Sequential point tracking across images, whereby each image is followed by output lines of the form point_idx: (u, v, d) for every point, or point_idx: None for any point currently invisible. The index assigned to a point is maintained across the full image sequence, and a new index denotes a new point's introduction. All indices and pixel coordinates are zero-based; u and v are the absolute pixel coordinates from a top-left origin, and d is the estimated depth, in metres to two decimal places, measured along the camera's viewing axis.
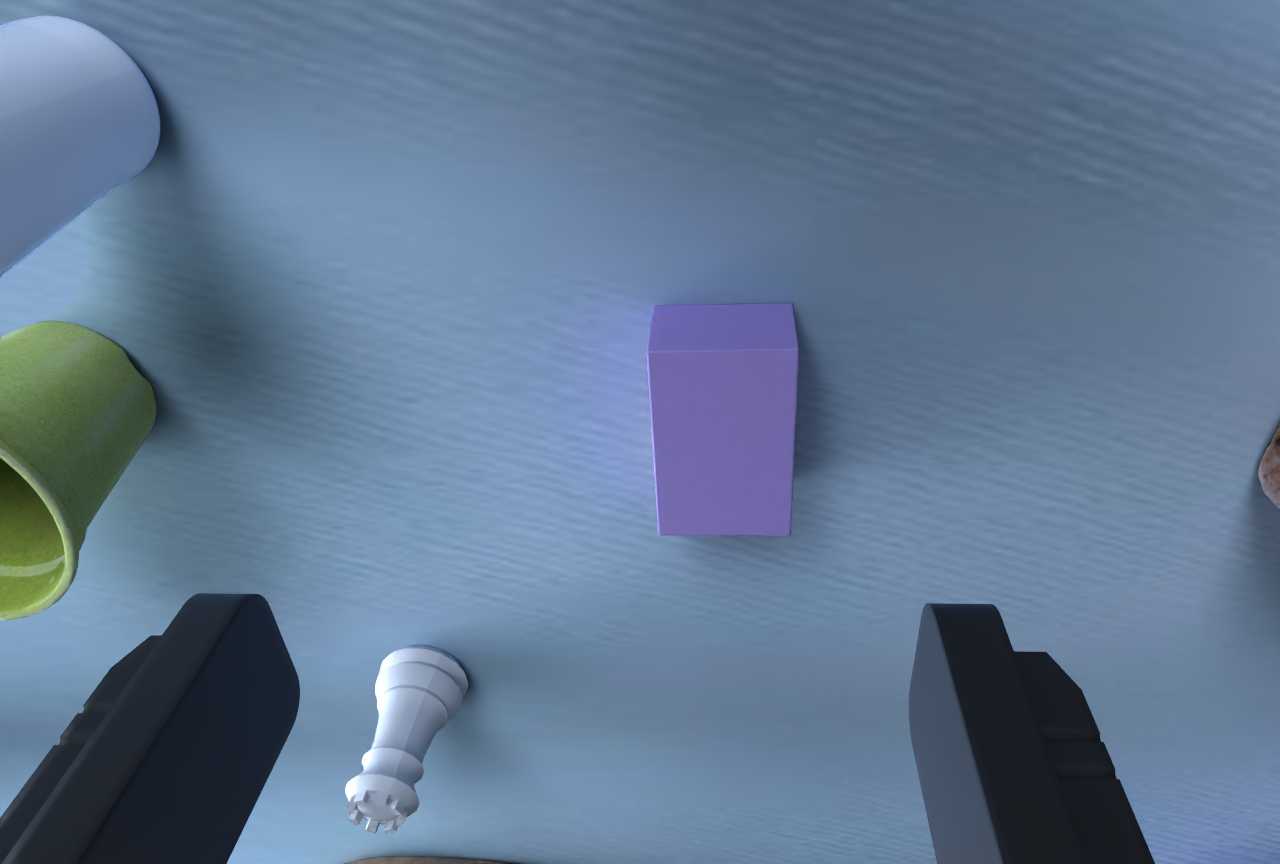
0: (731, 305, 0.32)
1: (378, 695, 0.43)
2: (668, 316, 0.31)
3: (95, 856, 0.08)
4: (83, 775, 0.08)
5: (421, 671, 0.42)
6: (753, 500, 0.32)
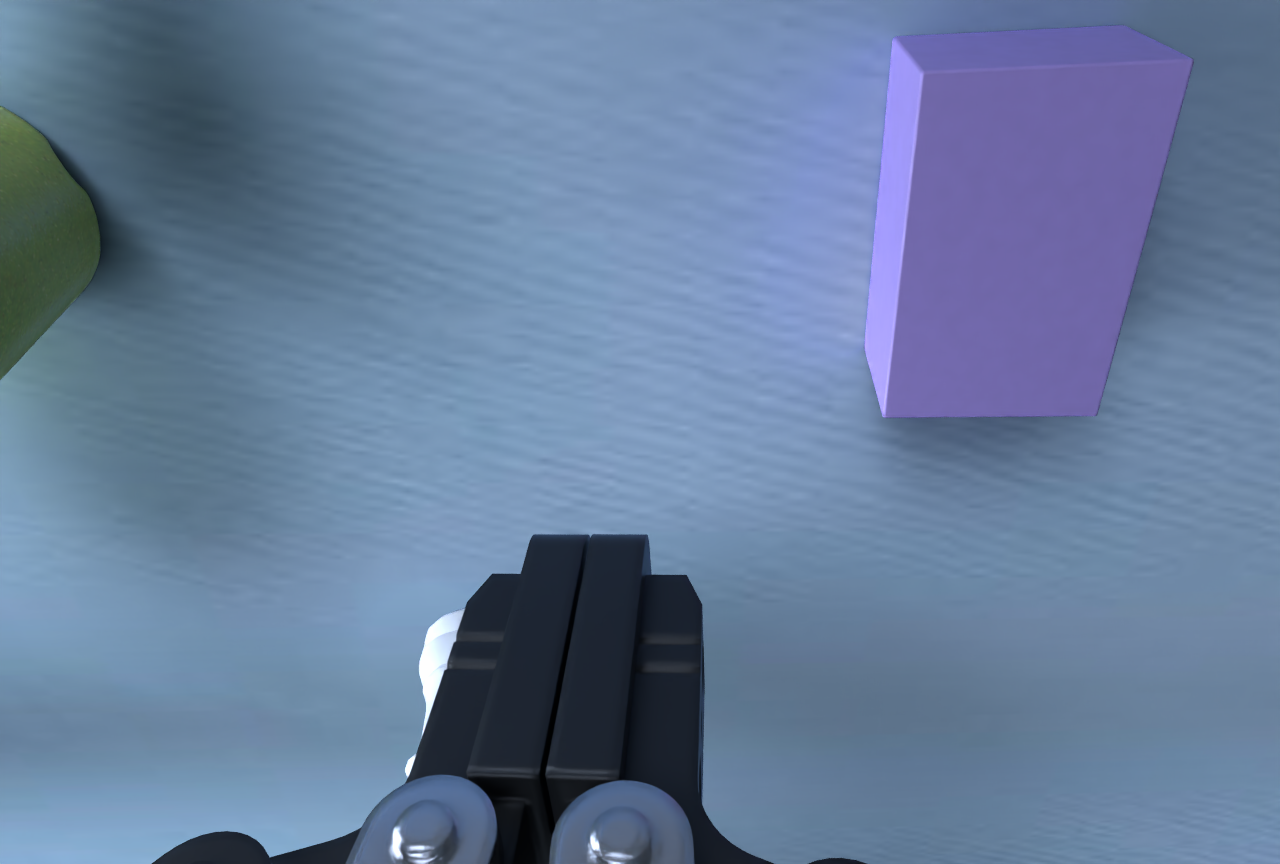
0: (1025, 30, 0.19)
1: (424, 675, 0.30)
2: (928, 42, 0.19)
3: (544, 762, 0.08)
4: (508, 691, 0.09)
5: None
6: (1049, 354, 0.20)
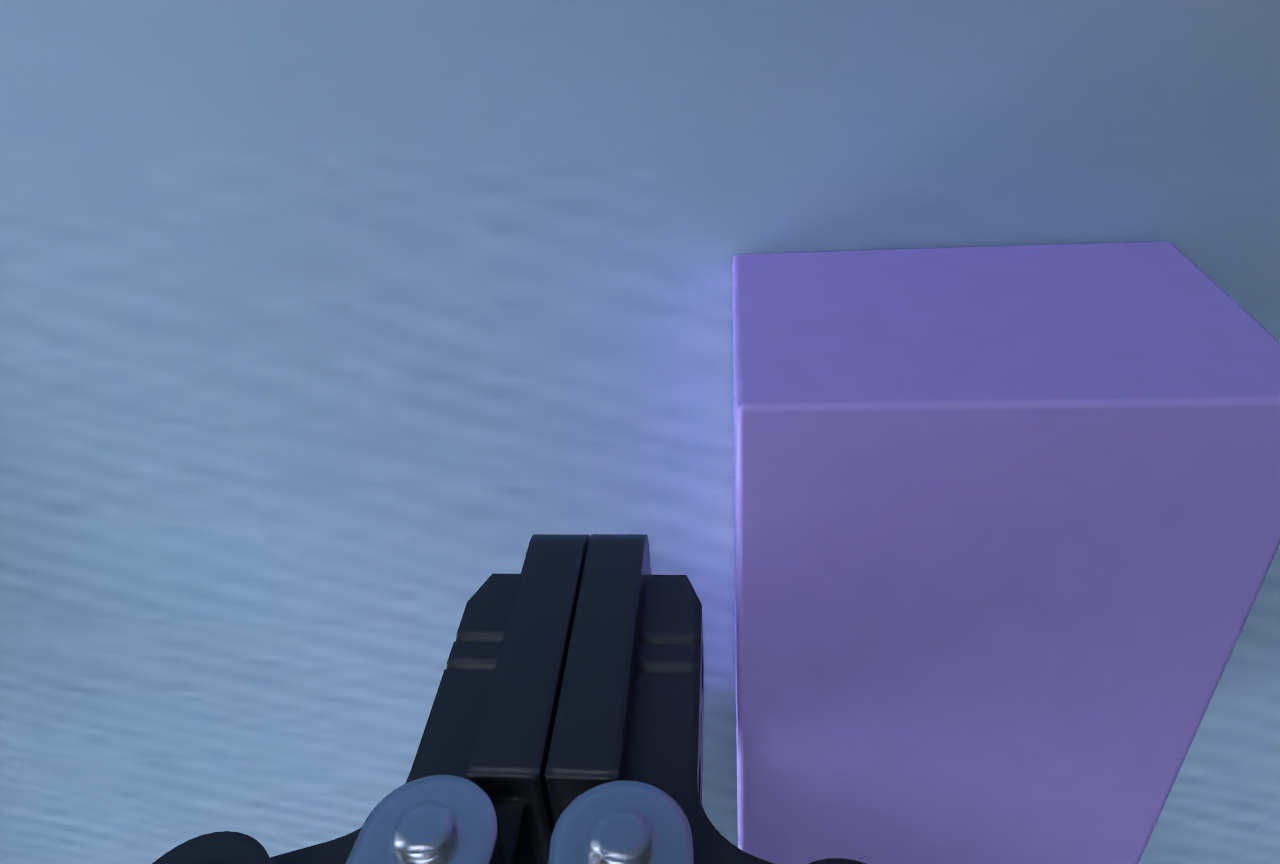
0: (978, 249, 0.10)
1: None
2: (788, 282, 0.10)
3: (544, 761, 0.08)
4: (508, 691, 0.09)
5: None
6: (1029, 833, 0.11)
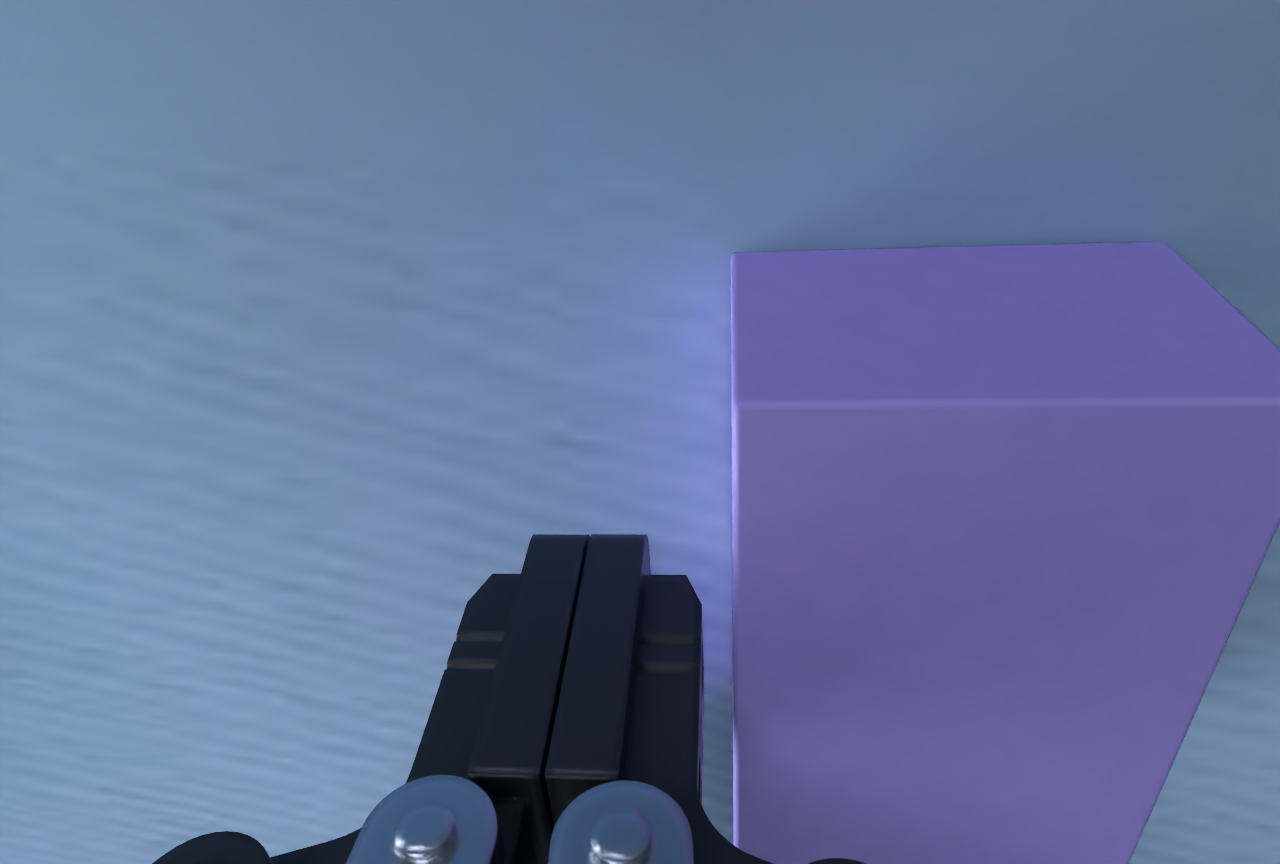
0: (974, 249, 0.10)
1: None
2: (786, 281, 0.10)
3: (544, 761, 0.08)
4: (508, 691, 0.09)
5: None
6: (1023, 829, 0.11)
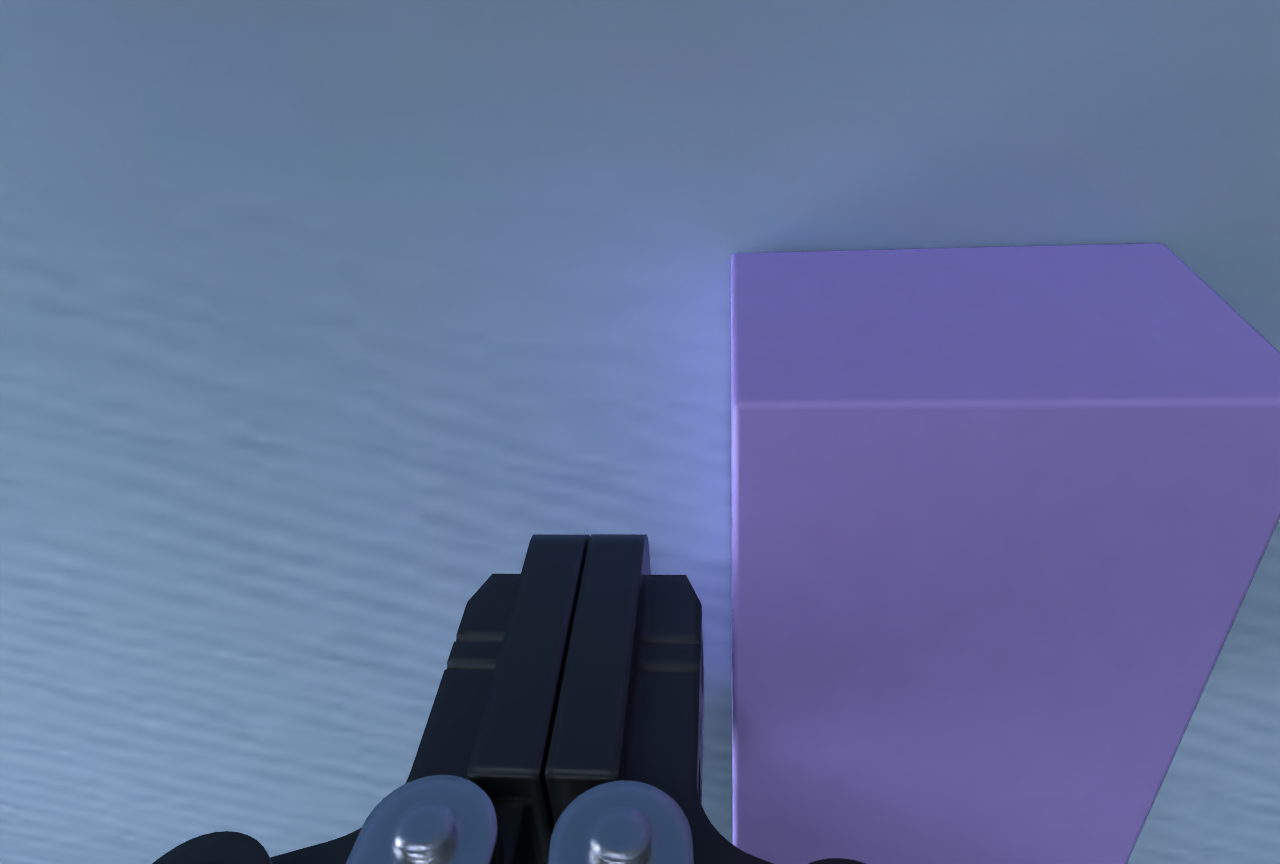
0: (973, 250, 0.10)
1: None
2: (785, 281, 0.10)
3: (544, 761, 0.08)
4: (508, 691, 0.09)
5: None
6: (1021, 829, 0.11)
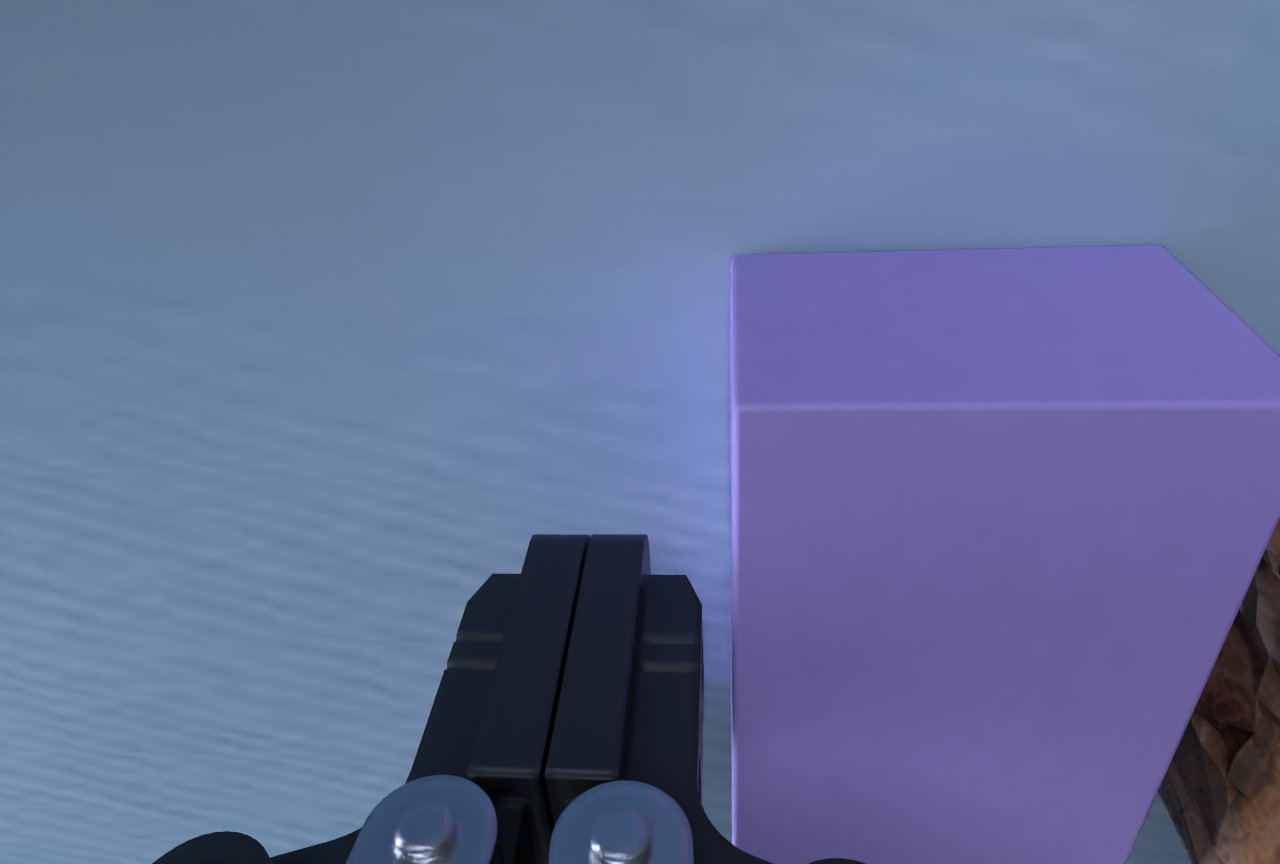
0: (973, 252, 0.10)
1: None
2: (785, 283, 0.10)
3: (544, 762, 0.08)
4: (508, 691, 0.09)
5: None
6: (1020, 830, 0.11)
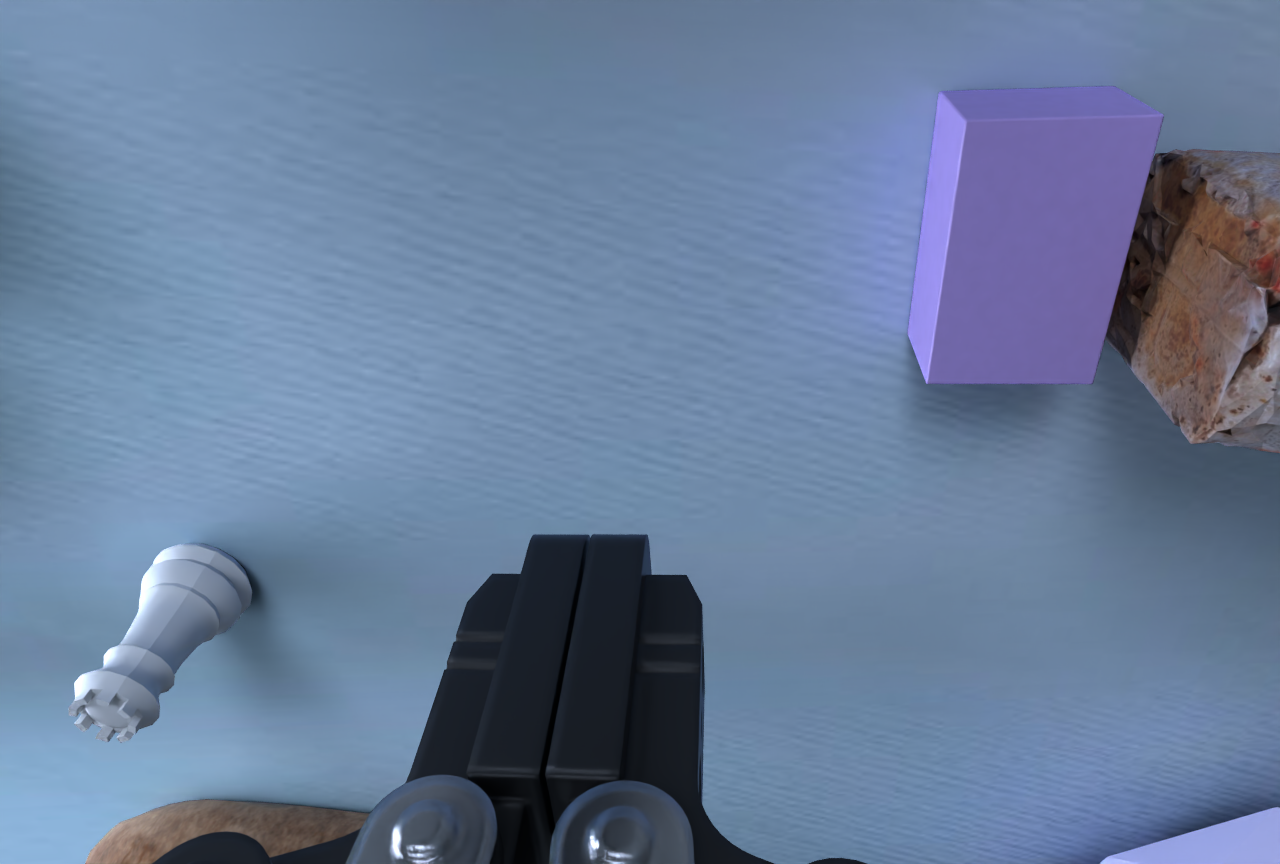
0: (1039, 88, 0.26)
1: None
2: (967, 97, 0.25)
3: (544, 762, 0.08)
4: (508, 691, 0.09)
5: (187, 568, 0.37)
6: (1056, 334, 0.26)
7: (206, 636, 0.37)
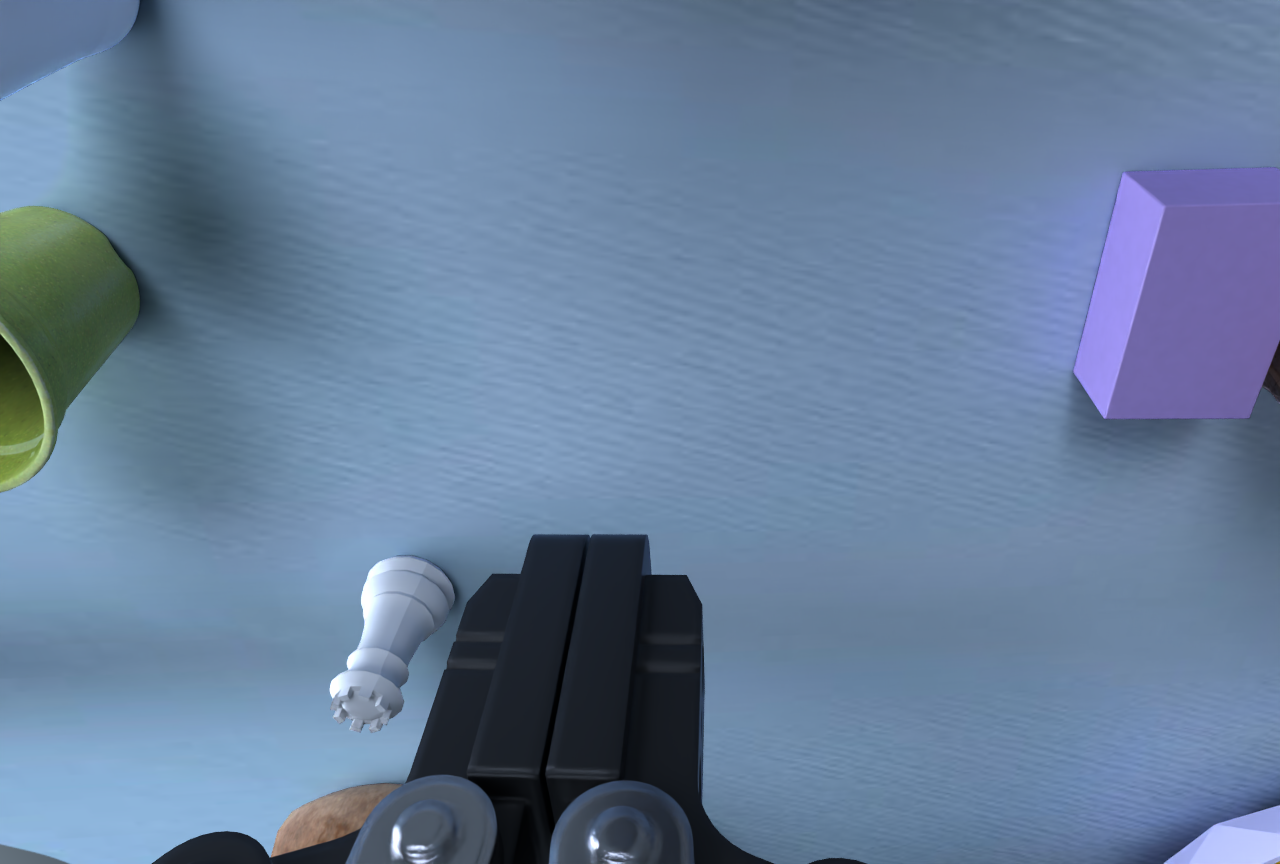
0: (1210, 170, 0.30)
1: (364, 604, 0.42)
2: (1152, 179, 0.30)
3: (544, 762, 0.08)
4: (507, 691, 0.09)
5: (407, 578, 0.42)
6: (1222, 378, 0.31)
7: (423, 638, 0.42)
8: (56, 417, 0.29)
